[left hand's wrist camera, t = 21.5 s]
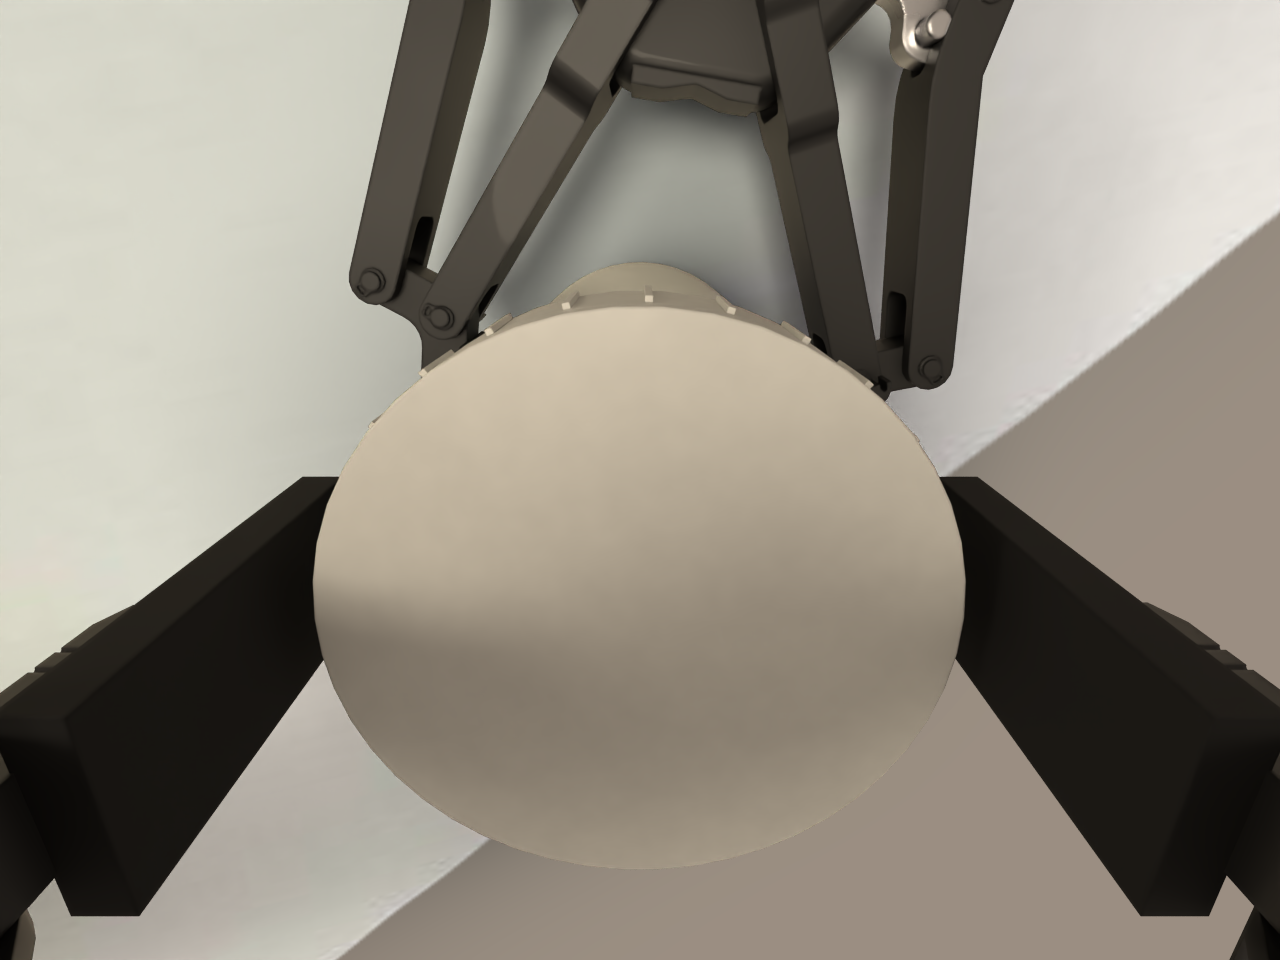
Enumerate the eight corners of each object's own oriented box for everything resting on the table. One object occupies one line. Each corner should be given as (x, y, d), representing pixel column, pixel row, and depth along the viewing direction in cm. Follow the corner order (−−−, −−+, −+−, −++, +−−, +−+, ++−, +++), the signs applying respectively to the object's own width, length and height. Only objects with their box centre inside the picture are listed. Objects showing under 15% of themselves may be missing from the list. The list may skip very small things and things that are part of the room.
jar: (484, 417, 26) (278, 681, 11) (599, 212, 24) (529, 199, 9) (673, 525, 28) (712, 880, 13) (800, 345, 25) (1035, 529, 10)
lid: (543, 147, 10) (519, 130, 8) (1035, 500, 11) (1115, 556, 10) (273, 635, 12) (207, 710, 11) (702, 850, 14) (712, 947, 12)
